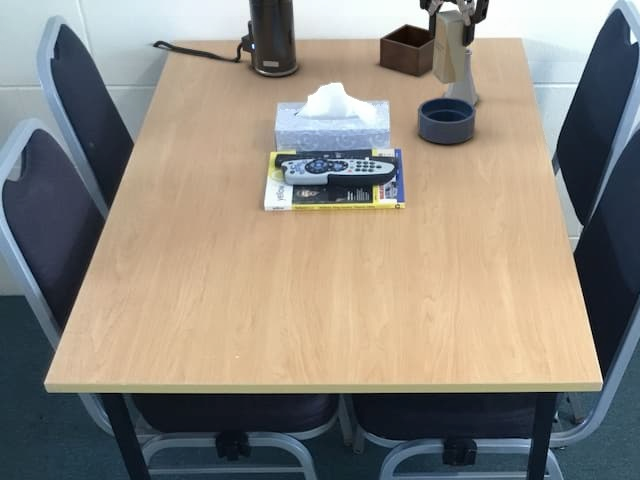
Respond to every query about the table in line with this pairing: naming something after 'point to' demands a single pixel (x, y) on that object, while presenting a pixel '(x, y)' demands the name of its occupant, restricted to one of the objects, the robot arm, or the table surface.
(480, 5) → the robot arm
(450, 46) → the box
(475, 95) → the flask
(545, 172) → the table surface
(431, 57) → the box
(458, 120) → the bowl
